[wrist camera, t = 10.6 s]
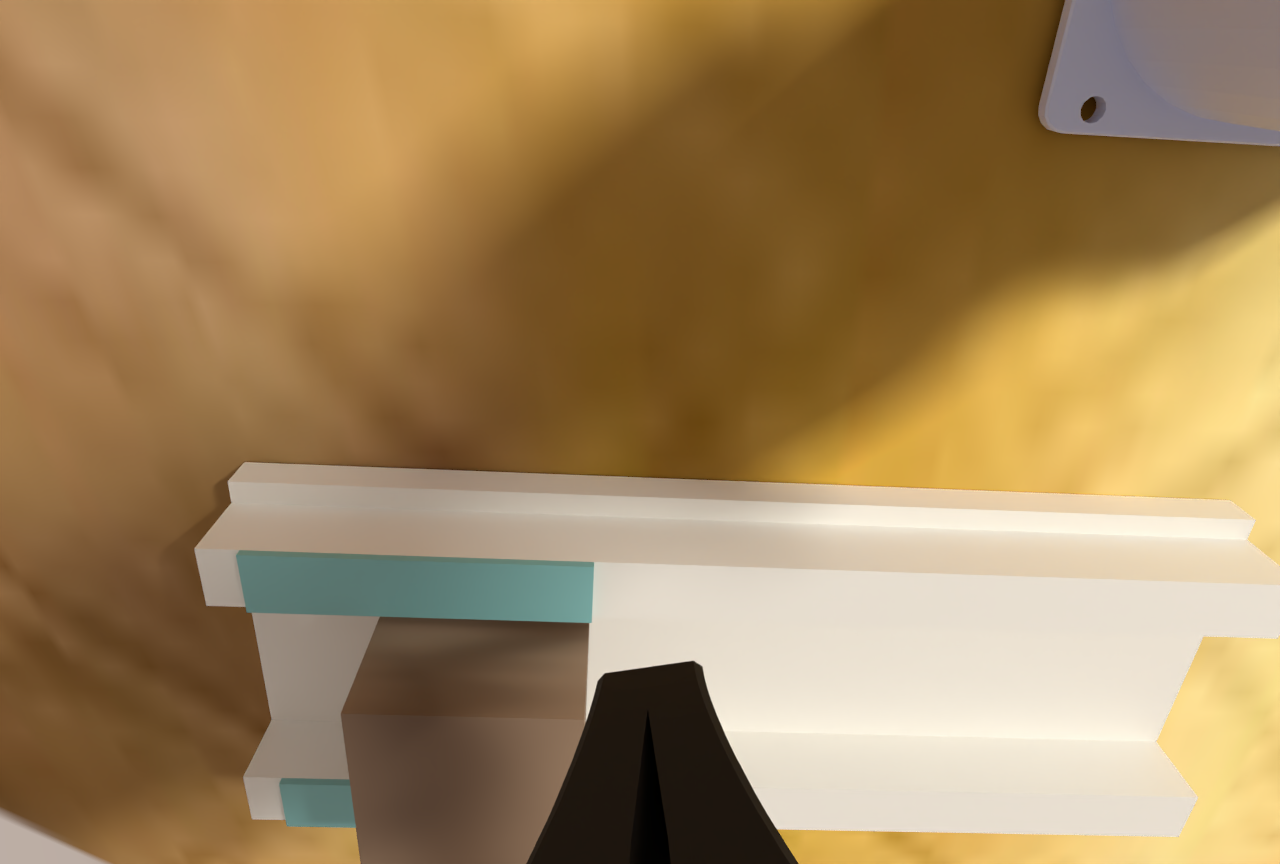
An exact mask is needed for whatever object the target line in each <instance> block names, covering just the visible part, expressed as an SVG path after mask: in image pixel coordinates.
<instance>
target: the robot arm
mask: <svg viewBox="0 0 1280 864" xmlns="http://www.w3.org/2000/svg"><path fill="white" fill-rule="evenodd" d="M1090 97H1094V99H1095V101H1096V110H1095V112H1094V114H1093V115H1092V116H1091V117H1090V118H1089V119H1087V120H1085V121H1083V119H1082V118H1081V108H1082V106H1083V104H1084V102H1085V101H1086V100H1088V99H1089V98H1090ZM1038 116H1039V119H1040V122H1041V124H1042V125H1043V126H1044V127H1045V128H1046V129H1047V130H1051V131H1054V132H1058V133H1064V134H1080V135H1097V136H1114V137H1131V138H1148V139H1165V140H1182V141H1199V142H1216V143H1233V144H1249V145H1266V146H1280V0H1065V3H1064V7H1063V11H1062V15H1061V19H1060V23H1059V27H1058V31H1057V35H1056V39H1055V43H1054V47H1053V51H1052V55H1051V59H1050V63H1049V67H1048V71H1047V75H1046V79H1045V83H1044V87H1043V91H1042V95H1041V99H1040V103H1039V111H1038ZM526 864H798V862H797V861H796V859H795V858H794V856H793V855H792V853H791V851H790V850H789V848H788V847H787V845H786V844H785V842H784V840H783V839H782V837H781V835H780V834H779V832H778V831H777V829H776V827H775V826H774V824H773V823H772V821H771V819H770V818H769V816H768V814H767V813H766V811H765V809H764V807H763V806H762V804H761V802H760V800H759V799H758V797H757V795H756V794H755V792H754V790H753V788H752V786H751V784H750V782H749V780H748V779H747V777H746V775H745V773H744V771H743V769H742V767H741V765H740V763H739V762H738V760H737V758H736V756H735V754H734V752H733V750H732V748H731V746H730V744H729V741H728V739H727V737H726V735H725V733H724V730H723V728H722V726H721V723H720V721H719V719H718V716H717V714H716V711H715V709H714V706H713V704H712V701H711V698H710V695H709V692H708V689H707V685H706V682H705V678H704V672H703V666H701V665H700V664H698V663H696V662H695V661H687V662H680V663H673V664H666V665H659V666H652V667H645V668H638V669H631V670H624V671H617V672H610V673H604V674H603V675H602V677H601V678H600V679H599V680H598V681H597V685H596V690H595V694H594V697H593V701H592V704H591V707H590V711H589V714H588V717H587V720H586V723H585V726H584V729H583V732H582V735H581V738H580V740H579V743H578V746H577V749H576V751H575V754H574V757H573V760H572V762H571V764H570V767H569V769H568V772H567V774H566V777H565V779H564V782H563V784H562V786H561V789H560V791H559V794H558V796H557V799H556V801H555V803H554V806H553V808H552V810H551V813H550V815H549V817H548V819H547V822H546V824H545V826H544V828H543V830H542V832H541V834H540V836H539V838H538V840H537V842H536V844H535V847H534V849H533V851H532V853H531V855H530V857H529V859H528V861H527V863H526Z"/></svg>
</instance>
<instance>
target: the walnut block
mask: <svg viewBox="0 0 1280 864" xmlns="http://www.w3.org/2000/svg"><path fill="white" fill-rule="evenodd" d="M588 649H589V623H575V622H542V621H509V620H476V619H443V618H410V617H379V620H378V622H377V625H376V627H375V630H374V632H373V635H372V637H371V640H370V642H369V645H368V647H367V650H366V652H365V654H364V657H363V659H362V662H361V664H360V667H359V669H358V672H357V674H356V677H355V679H354V682H353V684H352V687H351V689H350V692H349V694H348V697H347V699H346V701H345V704H344V706H343V709H342V711H341V721H342V728H343V736H344V743H345V750H346V758H347V765H348V773H349V780H350V787H351V795H352V802H353V810H354V817H355V824H356V832H357V839H358V847H359V854H360V861H361V864H526V863H527V861H528V859H529V857H530V855H531V853H532V851H533V849H534V847H535V844H536V842H537V840H538V838H539V836H540V834H541V832H542V830H543V828H544V826H545V824H546V822H547V819H548V817H549V815H550V813H551V810H552V808H553V806H554V803H555V801H556V799H557V796H558V794H559V791H560V789H561V786H562V784H563V782H564V779H565V777H566V774H567V772H568V769H569V767H570V764H571V762H572V760H573V757H574V754H575V751H576V749H577V746H578V743H579V740H580V738H581V735H582V732H583V729H584V726H585V723H586V702H587V675H588Z"/></svg>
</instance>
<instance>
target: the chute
mask: <svg viewBox="0 0 1280 864" xmlns="http://www.w3.org/2000/svg"><path fill="white" fill-rule="evenodd" d="M228 487H229V492H230V498H231V504H230V505H229V506H228V508H227V509H226V510H225V511H224V512H223V514H222V515H221V516H220V517H219V519H218V520H217V521H216V522H215V524H214V525H213V526H212V527H211V528H210V530H209V531H208V532H207V533H206V535H205V536H204V537H203V538H202V540H201V541H200V542H199V543H198V544H197V546H196V547H195V548H194V550H195V555H196V559H197V564H198V569H199V573H200V578H201V583H202V587H203V592H204V597H205V601H206V606H230V607H246V612H247V613H252V617H253V622H254V627H255V633H256V638H257V644H258V649H259V654H260V660H261V665H262V671H263V676H264V682H265V687H266V692H267V698H268V703H269V709H270V714H271V719H272V720H271V722H270V724H269V726H268V728H267V730H266V732H265V734H264V736H263V738H262V740H261V742H260V744H259V746H258V748H257V750H256V752H255V754H254V756H253V758H252V760H251V762H250V764H249V766H248V768H247V770H246V772H245V774H244V776H243V779H244V784H245V789H246V793H247V798H248V803H249V807H250V812H251V817H252V819H266V820H286V824H287V826H296V827H350V828H356V824H355V817H354V810H353V802H352V795H351V787H350V780H349V773H348V765H347V758H346V750H345V743H344V736H343V728H342V721H341V711H342V709H343V706H344V704H345V701H346V699H347V697H348V694H349V692H350V689H351V687H352V684H353V682H354V679H355V677H356V674H357V672H358V669H359V667H360V664H361V662H362V659H363V657H364V654H365V652H366V650H367V647H368V645H369V642H370V640H371V637H372V635H373V632H374V630H375V627H376V625H377V622H378V620H379V617H410V618H443V619H476V620H509V621H542V622H575V623H589V649H588V675H587V702H586V720H587V717H588V714H589V711H590V707H591V704H592V701H593V697H594V694H595V690H596V685H597V681H598V680H599V679H600V678H601V677H602V675H603V674H604V673H610V672H617V671H624V670H631V669H638V668H645V667H652V666H659V665H666V664H673V663H680V662H687V661H695V662H696V663H698V664H700V665H701V666H703V672H704V678H705V682H706V685H707V689H708V692H709V695H710V698H711V701H712V704H713V706H714V709H715V711H716V714H717V716H718V719H719V721H720V723H721V726H722V728H723V730H724V733H725V735H726V737H727V739H728V741H729V744H730V746H731V748H732V750H733V752H734V754H735V756H736V758H737V760H738V762H739V763H740V765H741V767H742V769H743V771H744V773H745V775H746V777H747V779H748V780H749V782H750V784H751V786H752V788H753V790H754V792H755V794H756V795H757V797H758V799H759V800H760V802H761V804H762V806H763V807H764V809H765V811H766V813H767V814H768V816H769V818H770V819H771V821H772V823H773V824H774V826H775V827H776V829H793V830H845V831H898V832H951V833H1003V834H1056V835H1109V836H1162V837H1179V835H1180V833H1181V831H1182V829H1183V827H1184V825H1185V823H1186V821H1187V819H1188V817H1189V815H1190V813H1191V811H1192V809H1193V807H1194V805H1195V803H1196V801H1197V799H1198V797H1197V795H1196V794H1195V793H1194V791H1193V790H1192V789H1191V787H1190V786H1189V785H1188V783H1187V782H1186V781H1185V779H1184V778H1183V777H1182V775H1181V774H1180V773H1179V771H1178V770H1177V769H1176V767H1175V766H1174V765H1173V763H1172V762H1171V761H1170V759H1169V758H1168V757H1167V755H1166V754H1165V753H1164V751H1163V750H1162V749H1161V747H1160V746H1159V745H1158V743H1157V742H1156V741H1157V739H1158V736H1159V734H1160V732H1161V730H1162V728H1163V725H1164V723H1165V721H1166V719H1167V716H1168V714H1169V712H1170V710H1171V708H1172V705H1173V703H1174V701H1175V699H1176V696H1177V694H1178V692H1179V690H1180V688H1181V685H1182V683H1183V681H1184V679H1185V676H1186V674H1187V672H1188V670H1189V668H1190V665H1191V663H1192V661H1193V659H1194V656H1195V654H1196V652H1197V650H1198V648H1199V645H1200V643H1201V641H1202V639H1203V636H1210V637H1243V638H1276V639H1278V637H1279V635H1280V566H1279V565H1278V564H1276V563H1275V562H1274V561H1273V560H1272V559H1270V558H1269V557H1268V556H1267V555H1265V554H1264V553H1263V552H1262V551H1261V550H1259V549H1258V548H1257V547H1256V546H1254V545H1253V544H1252V543H1251V542H1249V541H1248V540H1247V539H1248V536H1249V534H1250V532H1251V530H1252V527H1253V525H1254V523H1255V521H1256V520H1255V519H1254V518H1253V517H1251V516H1250V515H1249V514H1247V513H1246V512H1245V511H1244V510H1242V509H1241V508H1240V507H1238V506H1237V505H1236V504H1235V503H1233V502H1232V501H1231V500H1214V499H1188V498H1162V497H1136V496H1110V495H1084V494H1058V493H1032V492H1007V491H981V490H955V489H929V488H903V487H877V486H851V485H825V484H799V483H773V482H747V481H721V480H695V479H669V478H643V477H617V476H591V475H565V474H539V473H513V472H487V471H461V470H436V469H410V468H384V467H358V466H332V465H306V464H280V463H254V462H244V463H243V464H242V465H241V466H240V468H239V469H238V470H237V471H236V472H235V473H234V475H233V476H232V477H231V478H230V479H229V480H228Z"/></svg>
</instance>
